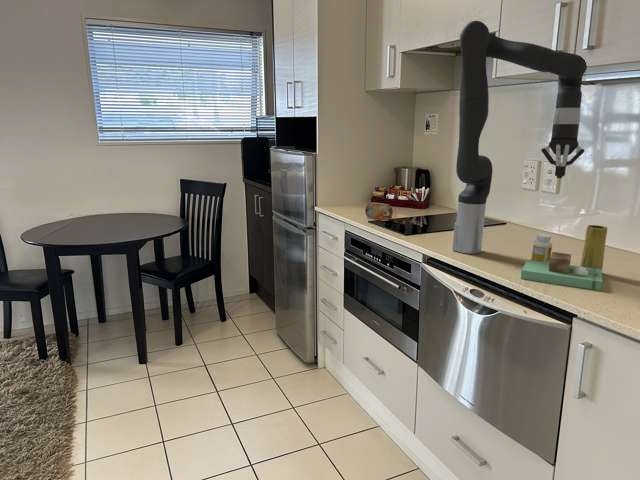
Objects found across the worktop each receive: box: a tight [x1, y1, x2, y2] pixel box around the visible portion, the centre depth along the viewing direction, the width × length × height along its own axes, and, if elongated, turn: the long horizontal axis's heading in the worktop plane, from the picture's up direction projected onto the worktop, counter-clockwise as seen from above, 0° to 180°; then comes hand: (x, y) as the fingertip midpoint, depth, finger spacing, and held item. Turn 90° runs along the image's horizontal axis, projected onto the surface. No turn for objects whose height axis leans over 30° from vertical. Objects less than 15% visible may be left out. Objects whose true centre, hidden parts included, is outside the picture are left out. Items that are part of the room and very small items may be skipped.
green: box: [520, 259, 603, 291], centre depth 137 cm, size 20×14×2 cm
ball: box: [573, 267, 589, 275], centre depth 134 cm, size 4×4×4 cm
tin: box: [365, 202, 394, 222], centre depth 220 cm, size 15×3×8 cm, turn 42°
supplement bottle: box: [530, 233, 553, 262], centre depth 149 cm, size 5×5×10 cm
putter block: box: [549, 251, 572, 274], centre depth 136 cm, size 5×8×4 cm, turn 150°
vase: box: [580, 224, 608, 273], centre depth 141 cm, size 6×6×14 cm
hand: (559, 177), depth 153 cm, fingers closed
